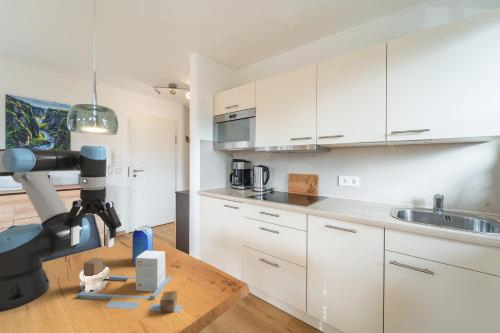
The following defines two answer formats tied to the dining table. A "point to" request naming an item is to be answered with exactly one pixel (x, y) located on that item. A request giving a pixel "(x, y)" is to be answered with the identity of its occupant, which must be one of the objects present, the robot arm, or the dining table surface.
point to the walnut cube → (168, 302)
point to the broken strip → (135, 304)
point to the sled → (96, 267)
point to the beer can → (141, 241)
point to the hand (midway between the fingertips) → (92, 245)
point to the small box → (150, 270)
